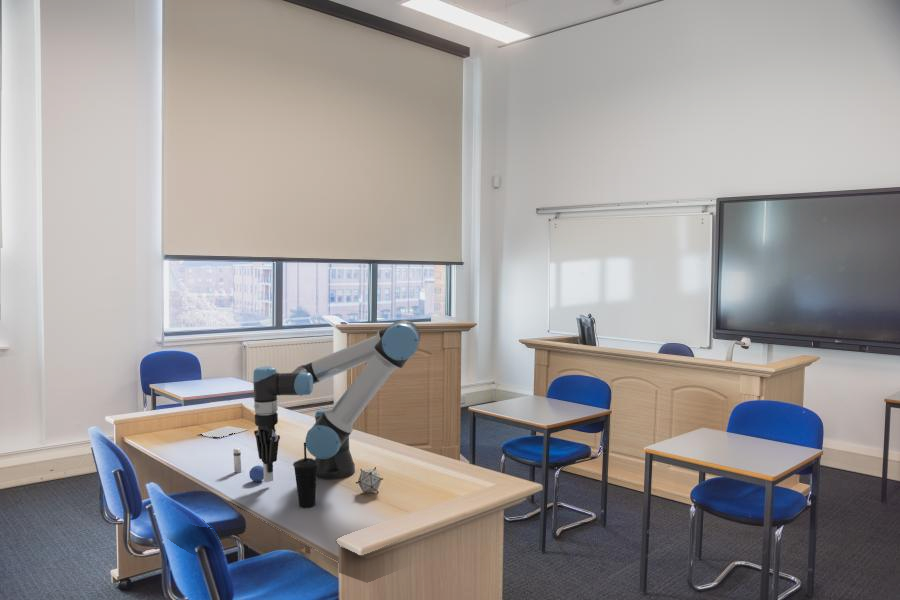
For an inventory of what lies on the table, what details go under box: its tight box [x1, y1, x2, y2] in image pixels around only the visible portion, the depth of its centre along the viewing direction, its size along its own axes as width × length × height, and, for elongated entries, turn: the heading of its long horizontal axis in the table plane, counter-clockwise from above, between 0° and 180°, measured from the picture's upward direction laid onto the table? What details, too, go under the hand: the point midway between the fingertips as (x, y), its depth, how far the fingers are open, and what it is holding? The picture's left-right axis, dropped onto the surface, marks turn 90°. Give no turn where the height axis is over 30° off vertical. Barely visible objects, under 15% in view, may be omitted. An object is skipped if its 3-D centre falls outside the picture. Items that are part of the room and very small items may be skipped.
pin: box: [233, 447, 242, 474], centre depth 244 cm, size 2×2×8 cm
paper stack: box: [200, 425, 248, 439], centre depth 295 cm, size 23×25×1 cm
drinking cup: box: [292, 442, 318, 509], centre depth 209 cm, size 8×8×20 cm
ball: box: [249, 465, 264, 483], centre depth 233 cm, size 6×6×6 cm
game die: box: [355, 466, 384, 496], centre depth 220 cm, size 9×8×10 cm
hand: (268, 480), depth 228 cm, fingers closed
